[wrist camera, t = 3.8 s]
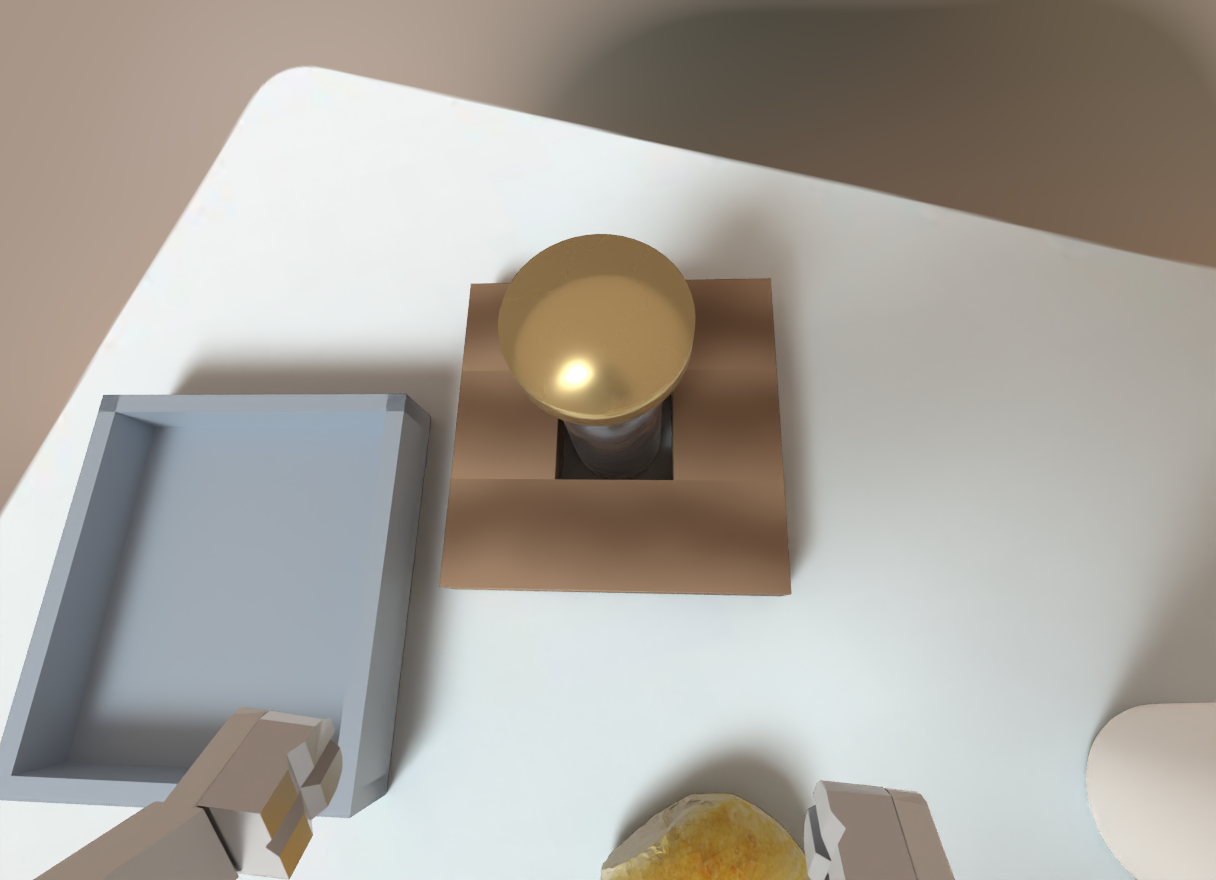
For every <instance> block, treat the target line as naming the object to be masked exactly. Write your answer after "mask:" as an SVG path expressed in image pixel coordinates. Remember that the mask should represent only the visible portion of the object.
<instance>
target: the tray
mask: <svg viewBox="0 0 1216 880" xmlns="http://www.w3.org/2000/svg"><path fill="white" fill-rule="evenodd" d="M430 421H431V416H429V415H428V414H427V413H426V412H425V411H424V410H423V409H422V408H421V407H420V406H419V405H418V404H417V403H415V402H414V401H413V400H412V399H411V398H410V397H409V396H408V395H407V394H247V395H103V398H102V401H101V405H100V408H99V412H98V415H97V418H96V422H95V425H94V429H93V432H92V435H91V439H90V442H89V445H88V449H87V452H86V456H85V459H84V462H83V466H82V469H81V473H80V476H79V479H78V483H77V486H76V489H75V493H74V496H73V500H72V503H71V506H70V510H69V513H68V517H67V520H66V523H65V527H64V530H63V533H62V537H61V540H60V544H59V547H58V550H57V554H56V557H55V561H54V564H53V567H52V571H51V574H50V578H49V581H48V584H47V588H46V591H45V594H44V598H43V601H42V605H41V608H40V611H39V615H38V618H37V622H36V625H35V628H34V632H33V635H32V638H31V642H30V645H29V649H28V652H27V655H26V659H25V662H24V666H23V669H22V672H21V676H20V679H19V682H18V686H17V689H16V693H15V696H14V699H13V703H12V706H11V710H10V713H9V716H8V720H7V723H6V726H5V730H4V733H3V737H2V740H1V743H0V800H8V801H28V802H47V803H67V804H86V805H106V806H125V807H147V806H148V805H150V804H151V803H153V802H154V801H159V802H164V801H165V799H166V798H167V797H168V796H169V794H170V793H171V792H172V790H173V789H174V788H175V787H176V785H177V784H178V783H179V781H180V780H181V779H182V778H183V776H184V775H185V774H186V772H187V771H188V770H189V769H190V767H191V766H192V765H193V763H194V762H195V761H196V760H197V758H198V757H199V756H200V754H201V753H202V752H203V751H204V749H205V748H206V747H207V745H208V744H209V743H210V742H211V740H212V739H213V738H214V737H215V735H216V734H217V733H218V731H219V730H220V729H221V728H222V726H223V725H224V724H225V722H226V721H227V720H228V719H229V717H230V716H231V715H232V714H234V713H235V712H236V711H238V710H239V709H240V708H242V707H248V708H257V709H265V710H273V711H277V712H284V713H292V714H299V715H307V716H315V717H323V718H330V719H331V721H332V724H333V727H334V729H335V732H334V734H333V735H332V737H331V740H332V741H333V742H334V743H335V744H337V745H338V746H339V747H340V749H341V753H342V756H343V765H342V773H341V776H340V780H339V783H338V787H337V790H336V792H335V794H334V795H333V797H332V799H331V801H330V803H329V805H328V807H327V808H326V809H324V810H323V811H322V812H321V813H319V814H318V815H317V816H321V817H340V818H350V817H352V816H353V815H355V814H356V813H358V812H359V811H361V810H362V809H364V808H366V807H367V806H369V805H370V804H372V803H373V802H375V801H376V800H378V799H379V798H381V797H382V796H384V795H385V794H386V792H387V784H388V775H389V767H390V758H391V750H392V742H393V733H394V725H395V716H396V708H397V699H398V691H399V683H400V674H401V666H402V657H403V649H404V640H405V632H406V623H407V615H408V607H409V598H410V590H411V581H412V573H413V564H414V556H415V548H416V539H417V531H418V522H419V514H420V505H421V497H422V489H423V480H424V472H425V463H426V455H427V446H428V438H429V429H430Z"/></svg>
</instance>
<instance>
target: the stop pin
mask: <svg viewBox="0 0 1216 880" xmlns="http://www.w3.org/2000/svg"><path fill="white" fill-rule="evenodd" d="M694 332H695V307H694V302H693V298H692V294H691V292H690V289H689V287H688V284H687V283H686V281H685V279H684V277H683V276H682V274H681V273H680V271H679V270H678V269H677V268H676V266H675V265H674V264H673V263H672V262H671V261H670V260H669V259H668V258H667V257H665V256H664V255H663V254H661V253H660V252H659V251H657V250H656V249H654V248H652V247H650V246H649V245H647V244H645V243H642V242H640V241H637V240H635V239H631V238H627V237H624V236H617V235H610V234H594V235H584V236H579V237H574V238H571V239H567V240H564V241H561V242H559V243H557V244H555V245H552V246H550V247H549V248H547V249H545V250H543V251H542V252H540V253H539V254H537V255H536V256H535V257H533V258H532V259H531V260H530V261H529V262H528V263H526V264H525V265H524V266H523V267H522V268H521V270H520V271H519V272H518V273H517V274H516V276H515V277H514V278H513V280H512V282H511V283H510V285H509V286H508V288H507V291H506V293H505V295H504V297H503V300H502V303H501V307H500V311H499V317H498V336H499V343H500V347H501V350H502V354H503V356H504V358H505V361H506V363H507V365H508V367H509V369H510V370H511V372H512V374H513V376H514V378H515V379H516V381H517V383H518V384H519V386H520V387H521V389H522V391H523V392H524V393H525V394H526V395H527V396H528V398H529V399H530V400H531V401H532V402H533V403H535V404H536V405H537V406H538V407H539V408H541V409H542V410H544V411H545V412H547V413H548V414H550V415H552V416H554V417H556V418H558V419H561V420H563V421H564V424H565V426H566V428H567V430H568V433H569V435H570V437H571V440H572V442H573V444H574V446H575V449H576V451H577V453H578V455H579V457H580V459H581V461H582V462H583V463H584V464H585V466H586V467H587V468H588V469H590V470H591V471H592V472H594V473H595V474H597V475H599V476H602V477H605V478H610V479H624V478H629V477H632V476H635V475H637V474H639V473H640V472H642V471H643V470H645V469H646V468H647V467H648V466H649V465H650V464H651V463H652V462H653V460H654V459H655V457H656V455H657V453H658V450H659V447H660V441H661V422H662V402H663V401H664V400H665V399H666V398H667V397H668V396H669V395H670V394H671V393H672V392H673V391H674V389H675V388H676V386H677V385H678V384H679V382H680V381H681V379H682V377H683V375H684V373H685V371H686V369H687V366H688V363H689V360H690V356H691V351H692V345H693V339H694Z"/></svg>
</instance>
